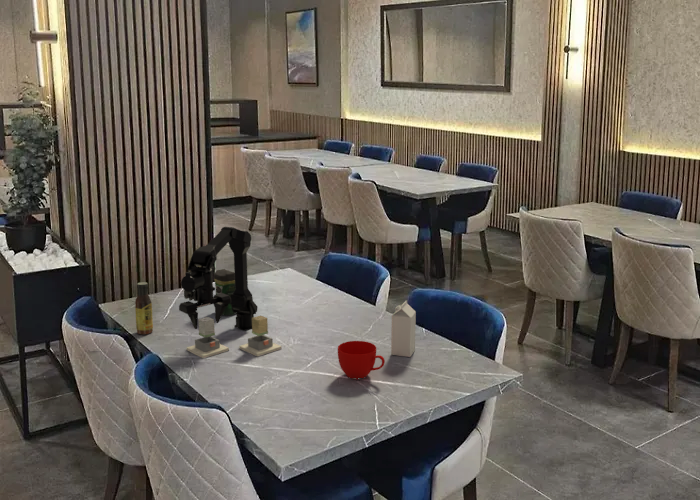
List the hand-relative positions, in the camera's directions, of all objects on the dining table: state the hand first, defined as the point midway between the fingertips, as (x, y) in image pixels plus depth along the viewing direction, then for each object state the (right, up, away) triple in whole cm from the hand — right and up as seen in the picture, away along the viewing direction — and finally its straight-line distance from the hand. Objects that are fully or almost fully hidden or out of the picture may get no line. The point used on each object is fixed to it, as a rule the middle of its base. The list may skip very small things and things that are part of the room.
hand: (206, 325), depth 271 cm
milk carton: (+71, -10, 0) cm, 72 cm away
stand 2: (+19, -9, +4) cm, 21 cm away
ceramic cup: (+56, -15, -21) cm, 62 cm away
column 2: (+19, -3, +3) cm, 20 cm away
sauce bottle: (-28, -5, +21) cm, 35 cm away
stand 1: (0, -9, +2) cm, 10 cm away
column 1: (0, -3, +1) cm, 4 cm away
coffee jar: (0, +1, +44) cm, 44 cm away
